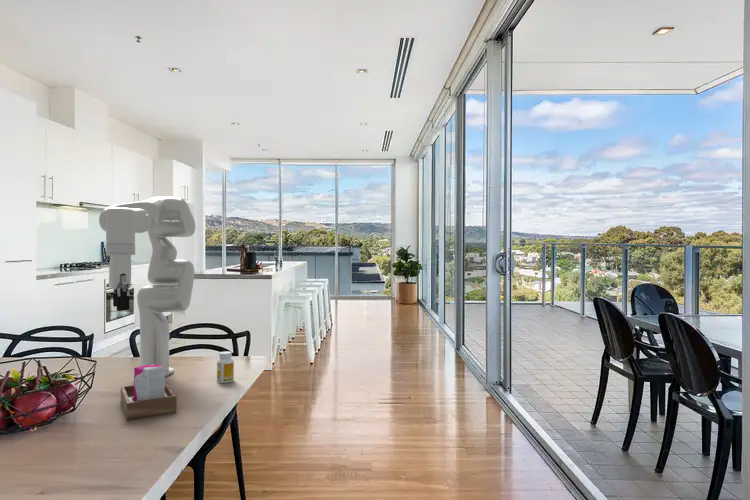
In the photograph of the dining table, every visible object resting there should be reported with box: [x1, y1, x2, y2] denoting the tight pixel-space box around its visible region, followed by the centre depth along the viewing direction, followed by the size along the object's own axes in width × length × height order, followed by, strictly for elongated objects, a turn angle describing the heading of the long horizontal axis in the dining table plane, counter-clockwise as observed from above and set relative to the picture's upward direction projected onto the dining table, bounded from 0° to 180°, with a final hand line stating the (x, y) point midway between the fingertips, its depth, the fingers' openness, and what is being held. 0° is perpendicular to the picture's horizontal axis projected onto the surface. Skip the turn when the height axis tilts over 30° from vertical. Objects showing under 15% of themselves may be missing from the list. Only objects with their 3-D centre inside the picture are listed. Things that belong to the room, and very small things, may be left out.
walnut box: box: [120, 380, 177, 422], centre depth 136 cm, size 18×12×4 cm, turn 32°
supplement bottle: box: [216, 351, 235, 384], centre depth 163 cm, size 5×5×10 cm
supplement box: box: [133, 364, 166, 401], centre depth 134 cm, size 6×6×12 cm
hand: (121, 308), depth 142 cm, fingers open, 9 cm apart
